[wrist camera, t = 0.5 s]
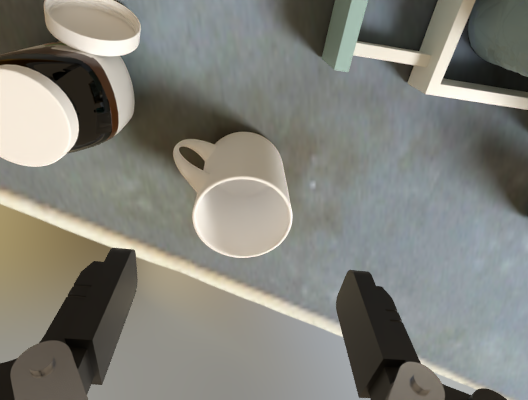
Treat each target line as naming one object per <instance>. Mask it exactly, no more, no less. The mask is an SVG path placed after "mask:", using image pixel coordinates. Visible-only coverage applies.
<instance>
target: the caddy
mask: <svg viewBox="0 0 528 400" xmlns="http://www.w3.org/2000/svg"><path fill="white" fill-rule="evenodd" d="M475 1H476V0H438V2H437V4H436V7H435V10H434V12H433V15H432V18H431V21H430V23H429V26H428V29H427V31H426V34H425V37H424V39H423V42H422V45H421V48H420V50H419V51H414V50H408V49H403V48H397V47H391V46H385V45H379V44H373V43H368V42H362V41H357V39H358V35H359V31H360V28H361V24H362V21H363V17H364V13H365V10H366V6H367V2H368V0H335V2H334V7H333V11H332V16H331V20H330V24H329V29H328V33H327V37H326V42H325V46H324V50H323V55H322V59H323V60H324V61H325V62H326V63H327V64H328V65H329V66H330V67H331V68H333V69H334V70H338V71H344V72H349V68H350V64H351V61H352V57H353V55H355V56H361V57H367V58H373V59H380V60H386V61H392V62H398V63H404V64H410V65H414V67H413V69H412V72H411V75H410V77H409V80H408V83H407V84H409V85H411V86H412V87H414V88H416V89H418V90H419V91H421V92H423V93H425V94H429V95H435V96H442V97H448V98H455V99H461V100H467V101H474V102H480V103H487V104H493V105H499V106H506V107H512V108H519V109H525V110H528V92H524V91H517V90H511V89H505V88H499V87H493V86H487V85H481V84H475V83H468V82H462V81H456V80H450V79H444V78H443V77H444V74H445V72H446V70H447V67H448V65H449V62H450V60H451V58H452V55H453V53H454V51H455V48H456V46H457V43H458V41H459V39H460V36H461V34H462V31H463V29H464V27H465V24H466V22H467V20H468V17H469V15H470V12H471V10H472V8H473V5H474V3H475Z"/></svg>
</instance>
